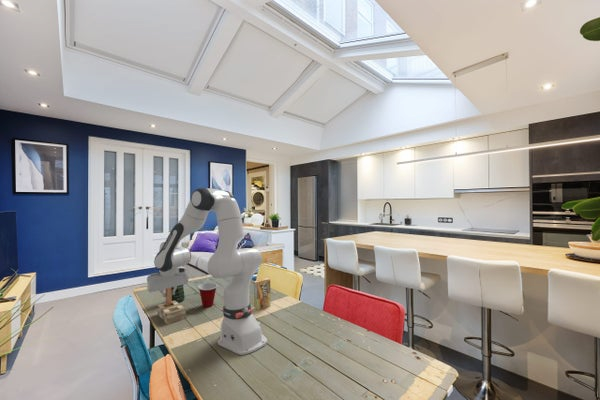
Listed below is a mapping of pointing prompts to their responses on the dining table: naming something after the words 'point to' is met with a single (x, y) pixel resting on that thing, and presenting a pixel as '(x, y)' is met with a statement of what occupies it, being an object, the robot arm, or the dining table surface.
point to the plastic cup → (207, 293)
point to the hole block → (171, 312)
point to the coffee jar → (178, 294)
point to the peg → (169, 297)
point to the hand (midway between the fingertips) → (168, 295)
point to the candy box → (261, 293)
